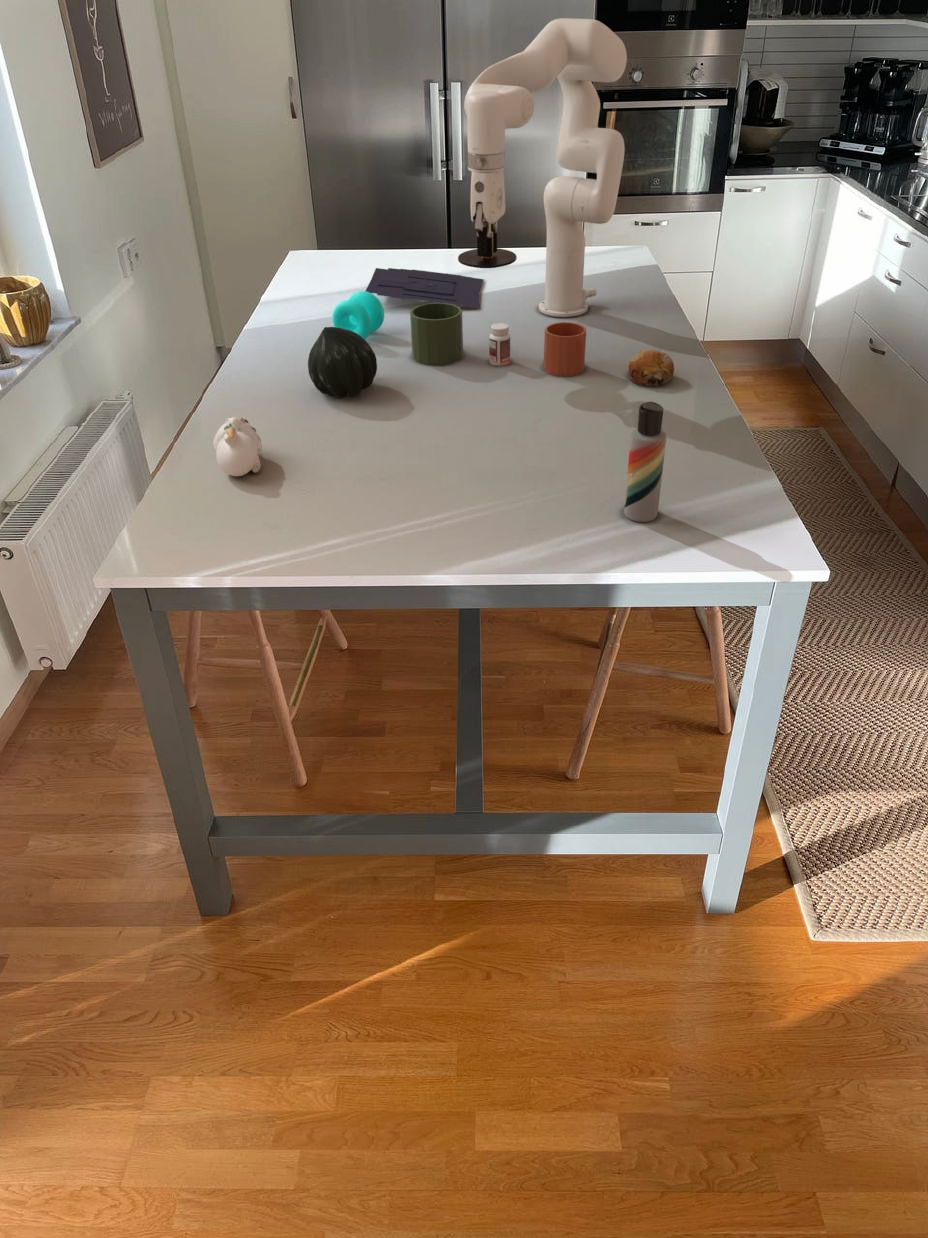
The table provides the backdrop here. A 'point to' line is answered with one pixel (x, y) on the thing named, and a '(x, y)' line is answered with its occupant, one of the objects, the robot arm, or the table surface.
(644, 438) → the lotion bottle
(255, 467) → the white bird figurine
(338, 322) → the donuts
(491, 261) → the lid
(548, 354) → the cup
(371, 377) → the squash
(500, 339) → the pill bottle
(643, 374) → the bread roll
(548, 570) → the table surface
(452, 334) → the pot
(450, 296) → the papers
